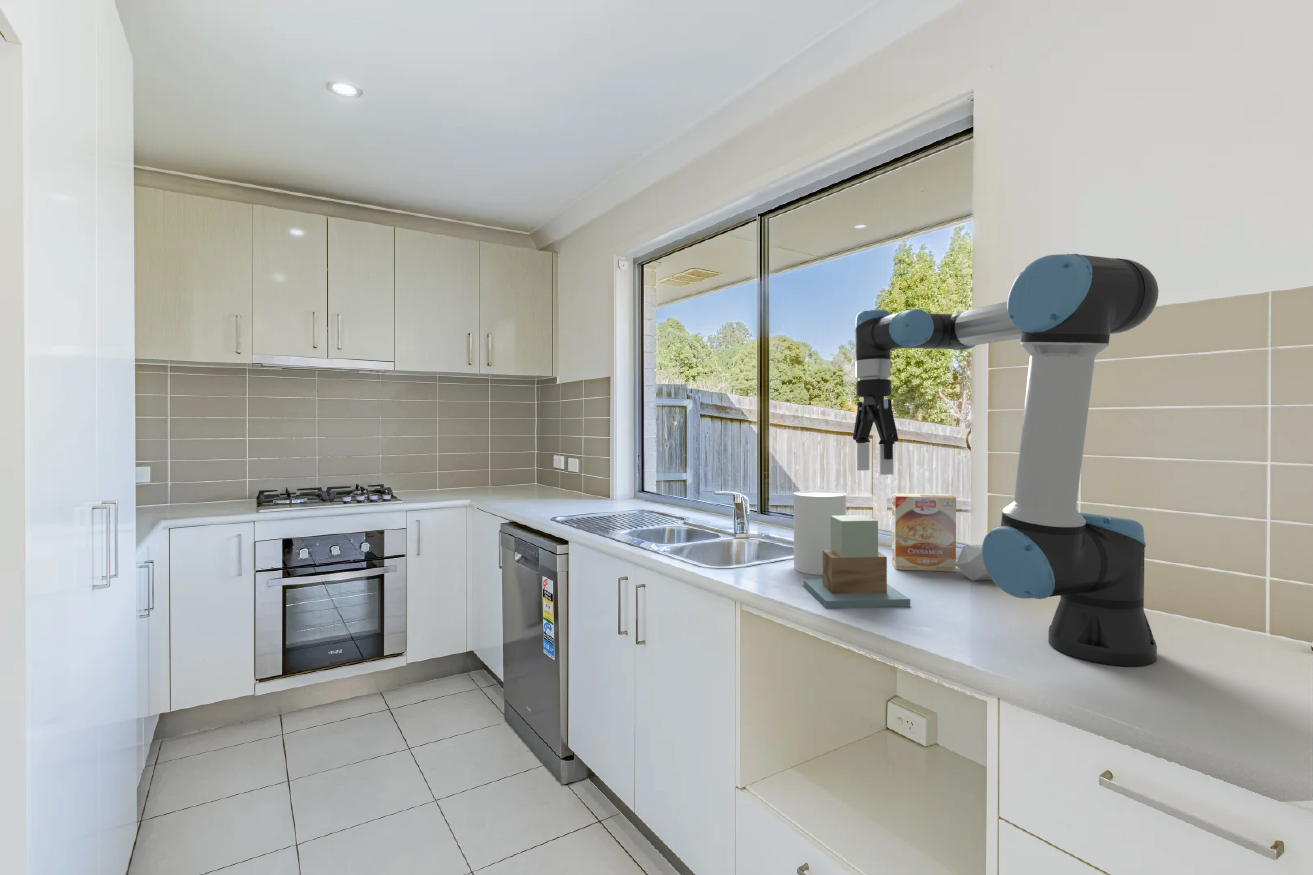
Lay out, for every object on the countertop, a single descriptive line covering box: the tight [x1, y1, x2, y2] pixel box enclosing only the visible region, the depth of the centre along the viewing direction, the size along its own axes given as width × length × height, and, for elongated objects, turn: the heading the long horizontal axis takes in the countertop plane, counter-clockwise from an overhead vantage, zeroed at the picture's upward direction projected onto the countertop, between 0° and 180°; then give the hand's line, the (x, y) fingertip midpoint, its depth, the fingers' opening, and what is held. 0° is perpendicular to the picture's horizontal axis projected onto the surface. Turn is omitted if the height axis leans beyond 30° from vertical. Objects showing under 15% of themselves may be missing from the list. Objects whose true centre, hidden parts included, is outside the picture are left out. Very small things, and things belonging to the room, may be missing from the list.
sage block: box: [831, 514, 879, 558], centre depth 143 cm, size 8×8×8 cm
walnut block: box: [822, 550, 888, 594], centre depth 143 cm, size 8×12×8 cm, turn 90°
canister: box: [793, 490, 847, 576], centre depth 169 cm, size 14×14×20 cm
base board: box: [802, 578, 911, 609], centre depth 143 cm, size 18×18×2 cm
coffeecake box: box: [891, 492, 957, 573], centre depth 168 cm, size 15×7×20 cm, turn 77°
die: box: [956, 544, 992, 582], centre depth 156 cm, size 8×9×10 cm
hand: (874, 472), depth 145 cm, fingers open, 13 cm apart
